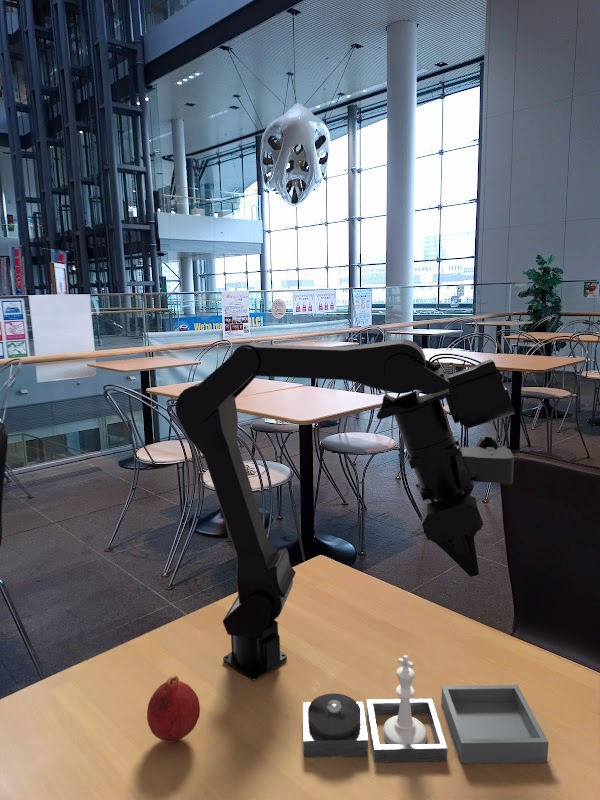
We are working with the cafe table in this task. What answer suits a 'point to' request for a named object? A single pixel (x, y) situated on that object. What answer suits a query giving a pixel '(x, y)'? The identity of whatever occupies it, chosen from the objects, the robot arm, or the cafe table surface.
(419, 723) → the chess piece
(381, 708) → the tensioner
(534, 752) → the tray
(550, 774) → the cafe table surface
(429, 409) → the robot arm
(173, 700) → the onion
